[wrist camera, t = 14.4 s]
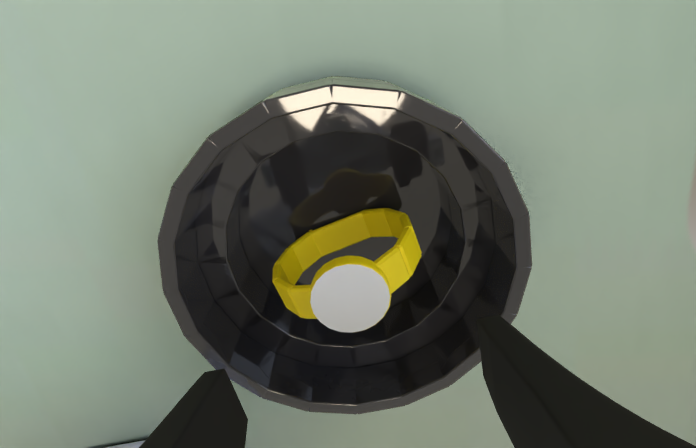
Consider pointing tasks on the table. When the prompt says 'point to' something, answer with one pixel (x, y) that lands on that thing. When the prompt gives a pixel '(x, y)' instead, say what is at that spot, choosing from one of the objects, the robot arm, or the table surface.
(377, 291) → the watch
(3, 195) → the table surface
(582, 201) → the table surface
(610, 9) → the table surface
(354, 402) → the bowl
